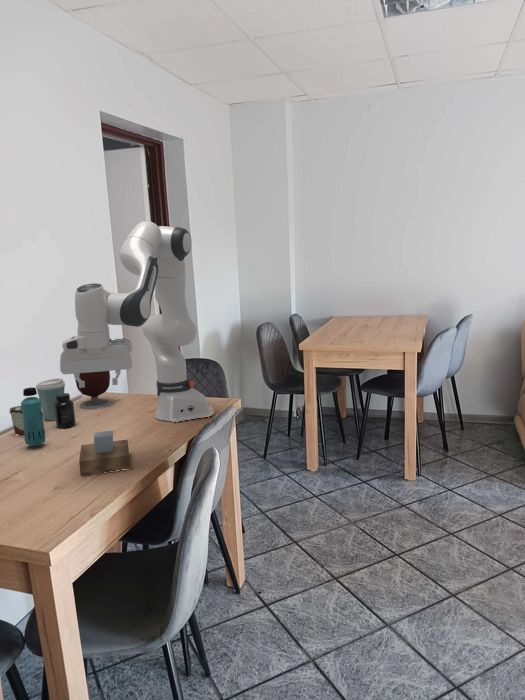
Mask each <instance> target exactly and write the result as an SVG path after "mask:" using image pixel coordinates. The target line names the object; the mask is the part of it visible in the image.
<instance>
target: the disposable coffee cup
mask: <svg viewBox="0 0 525 700" xmlns="http://www.w3.org/2000/svg"><path fill="white" fill-rule="evenodd" d="M65 385H66V382H65V381H64V379H63V378H61V377H60V378H51V379H50V378H49V379H47V380H43V381H40V382H38V383H37V384H36V385H35V388H36V392H37V395H38V398H39V399H40V400H41V407H42V411H43V413H42V415H43V418H45V420H46V419H47V420H46V421H56V419H55V410H54V404H55V403H56V402H57V401H56V395H58V394H62V393H65Z"/></svg>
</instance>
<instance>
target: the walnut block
mask: <svg viewBox="0 0 525 700" xmlns="http://www.w3.org/2000/svg"><path fill="white" fill-rule="evenodd" d="M113 444H114V447H113V452H106V453H96V454H95V444H94V443H88V444H87V443H86V444H81V445H80V453H79V461H78V462H79V463H78V465H79V473H80V477H83V476H82V475H88V476H92V475H91V474H96V475H100V474H99V473H103V474H105V473H104V472H110V471H116V470H122V469H129V468H130V469H131V458H130V448H129V440H128V439H121V440H113ZM110 473H111V472H110Z"/></svg>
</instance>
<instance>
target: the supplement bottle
mask: <svg viewBox="0 0 525 700" xmlns="http://www.w3.org/2000/svg"><path fill="white" fill-rule="evenodd" d="M56 401H57V402H56V403H55V404H54V410H55V419H56V420H55V424H56V428H58V429H68V428H72V427H74V426H75V425H76V415H75V408H74V407H75V406H74V404H75V403H74V402H73V401H72V400H71V396H70V393H68V392H64V393H62V394H58V395H56Z"/></svg>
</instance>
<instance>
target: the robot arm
mask: <svg viewBox="0 0 525 700" xmlns="http://www.w3.org/2000/svg"><path fill="white" fill-rule="evenodd" d="M191 249H192V237H191V234H190V232H189V231H188V230H187V229H186V228H184V227H180V226H174V227H173V226H168V225H167V226H164V225H163V226H162V225H159V226H158V224H156V223H155V222H152V221H150V220H143V221H139V222H138V223H137V224H136V225H135V226H134V227H133V229H132V230H131V231H130V233H129V234H128V235H127V236H126V239H125V240H124V242H123V244H122V246H121V248H120V251H119V260H120V262H121V264H122V266H123V267H124V269H126V270H127V271H128V272H129V273H131V274H132V275H135V276H138V280H137V284H136V288H135V289H134V290H132V291H130V292H111V291H108V290H105V289H104V286H103V284H101V283H96V282H95V283H88V284H87V283H86V284H83V285H80V286H79V287H77V288H76V290H75V293H74V310H75V318H76V320H77V335H75V336H72V337H69V338H67V339H65V340H63V342H62V349H63V350H62V352H61V354H60V360H59V369H60V373H61V374H63V375H72V374H73V377H74V380H75V379H76V380H77V381H78V383H79V388H85V381H81V379H80V378H79V376H80V373H88V372H101V371H110V372H111V371H114V372H115V374H116V375H115V377H114V378H112V379H111V382H112V386H118V385H119V382H118V379H119V377H120V375H121V371H122V370H123V371H124V370H130V369H131V368H132V367H133V363H132V362H133V361H132V355H131V352H132V347H133V346H132V342H131V341H130V340H129V339H126V337H125V338H124V337H123V338H122V337H121V338H110V337H111V336H110V327H109V325H112V326H129V327H136V328H137V327H142V332H143V335H144V336H145V338H146V339H147V341H149V342H148V343H149V345H150V348H151V350H152V353H153V355H154V359H155V366H156V378H157V380H156V384H155V385H156V395H157V408H156V412H155V413H156V414H155V418H156V419H158V420H160V421H164V420H165V422H170V421H171V422H170V423H174V422H176V423H180V422H179V421H183V422H185V421H184V420H189V421H191V420H190V419H195V418H199V417H203V416H208V415H212V414H213V413H214V414H215V410H214V411H213V409H214V408H213V407H212V406H211V407H212V408H213V409H212V408H211V407H209V406H210V405H209V402H208V400H207V397H206V396H205V395H204V394H203V393H201V392H200V391H198V390H197V389H195V388H194V387H195V382H194V381H193V380H192V379H191V378H187V377H188V376H187V363H186V358H185V356H184V355H183V354H182V352H181V351H180V348H179V347H183V346H187V345H191V344H192V343H193V341H195V339H196V336H197V327H196V325H195V323H194V321H193V320H192V319H191V317H190V313H189V311H188V307H187V302H186V263H185V258H186V257H187V256H188V255H189V253H190V251H191ZM153 296H154V298H155V301H156V302H157V304H158V306H159V308H160V311H161V313H160V314H154V315H151V309H152V307H151V306H152V300H153ZM209 412H213V413H209Z"/></svg>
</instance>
